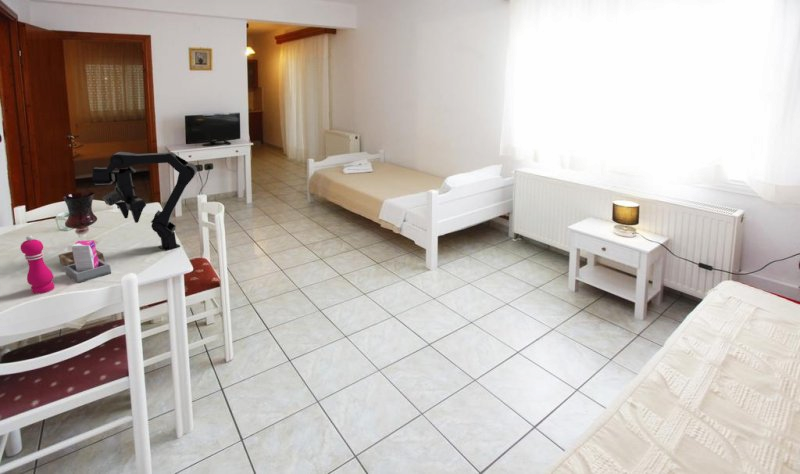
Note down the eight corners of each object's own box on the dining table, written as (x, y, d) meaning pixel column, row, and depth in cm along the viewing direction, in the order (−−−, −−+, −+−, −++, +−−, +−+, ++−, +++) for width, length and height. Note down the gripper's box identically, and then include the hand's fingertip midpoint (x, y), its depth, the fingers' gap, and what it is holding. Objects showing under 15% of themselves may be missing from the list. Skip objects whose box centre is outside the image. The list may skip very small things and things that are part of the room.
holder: (104, 261, 184) (102, 253, 182) (71, 270, 175) (69, 262, 174) (92, 254, 190) (90, 246, 189) (60, 263, 181) (58, 254, 180)
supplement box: (95, 274, 170) (88, 245, 166) (77, 275, 169) (69, 246, 165) (100, 267, 175) (94, 239, 172) (83, 269, 174) (76, 240, 170)
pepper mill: (39, 285, 163) (24, 232, 156) (60, 284, 164) (47, 232, 157) (25, 294, 156) (9, 239, 149) (48, 294, 157) (33, 239, 150)
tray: (111, 273, 173) (109, 264, 172) (78, 283, 165) (76, 274, 164) (98, 265, 180) (96, 257, 178) (66, 275, 171) (64, 266, 170)
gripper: (92, 183, 186) (100, 220, 191) (113, 191, 175) (121, 229, 181) (121, 179, 194) (128, 214, 199) (143, 186, 184) (149, 223, 189)
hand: (131, 220), depth 192 cm, fingers open, 9 cm apart
